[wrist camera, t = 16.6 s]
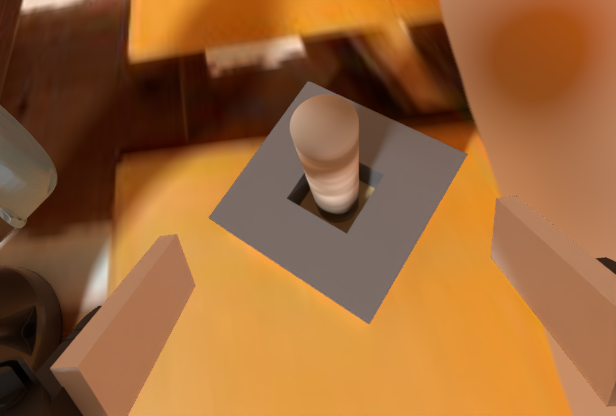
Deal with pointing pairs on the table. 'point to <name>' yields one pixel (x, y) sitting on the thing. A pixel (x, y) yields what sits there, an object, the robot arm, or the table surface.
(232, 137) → the table surface
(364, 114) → the socket block
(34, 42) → the table surface
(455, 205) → the table surface
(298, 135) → the birch peg
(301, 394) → the table surface
